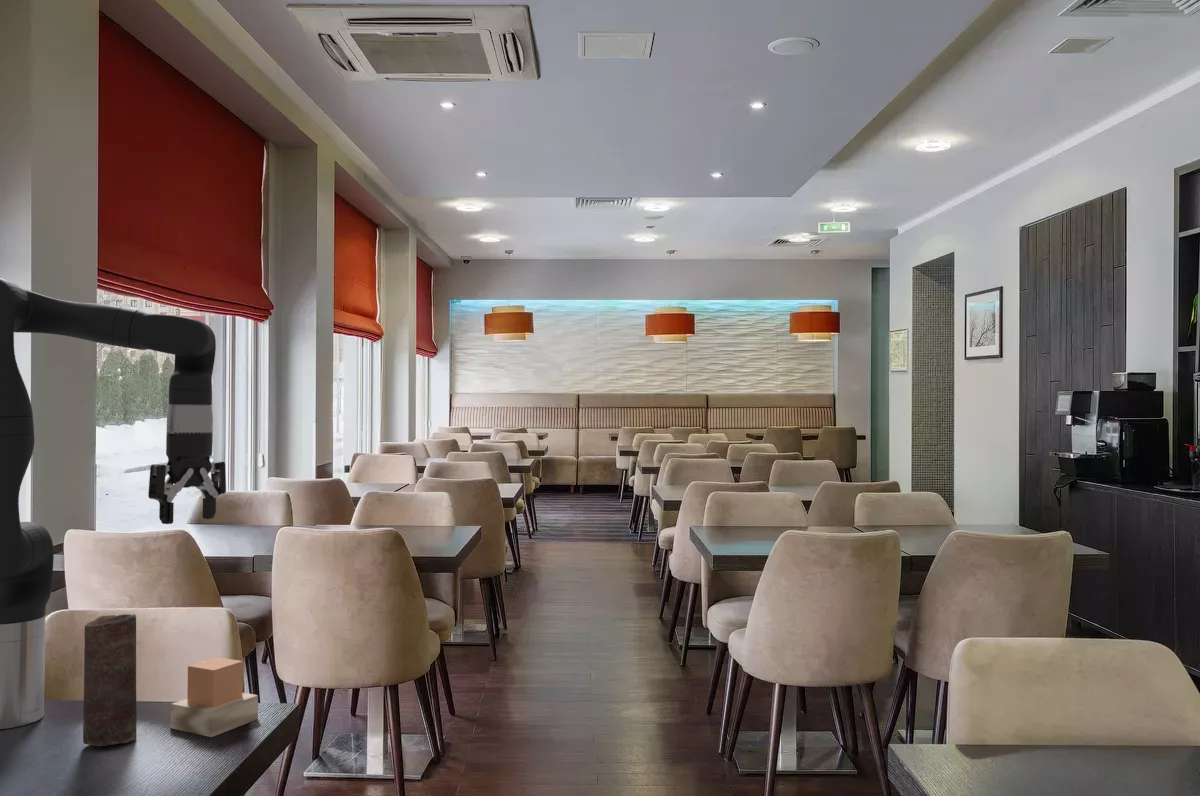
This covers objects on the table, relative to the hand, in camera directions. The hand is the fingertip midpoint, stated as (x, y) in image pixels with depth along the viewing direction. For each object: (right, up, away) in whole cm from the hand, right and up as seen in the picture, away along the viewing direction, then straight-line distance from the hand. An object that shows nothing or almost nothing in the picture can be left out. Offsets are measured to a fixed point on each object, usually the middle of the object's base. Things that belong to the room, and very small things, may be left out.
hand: (188, 521), depth 156 cm
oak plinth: (+9, -33, -9) cm, 35 cm away
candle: (-3, -33, -19) cm, 38 cm away
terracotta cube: (+9, -29, -9) cm, 31 cm away
